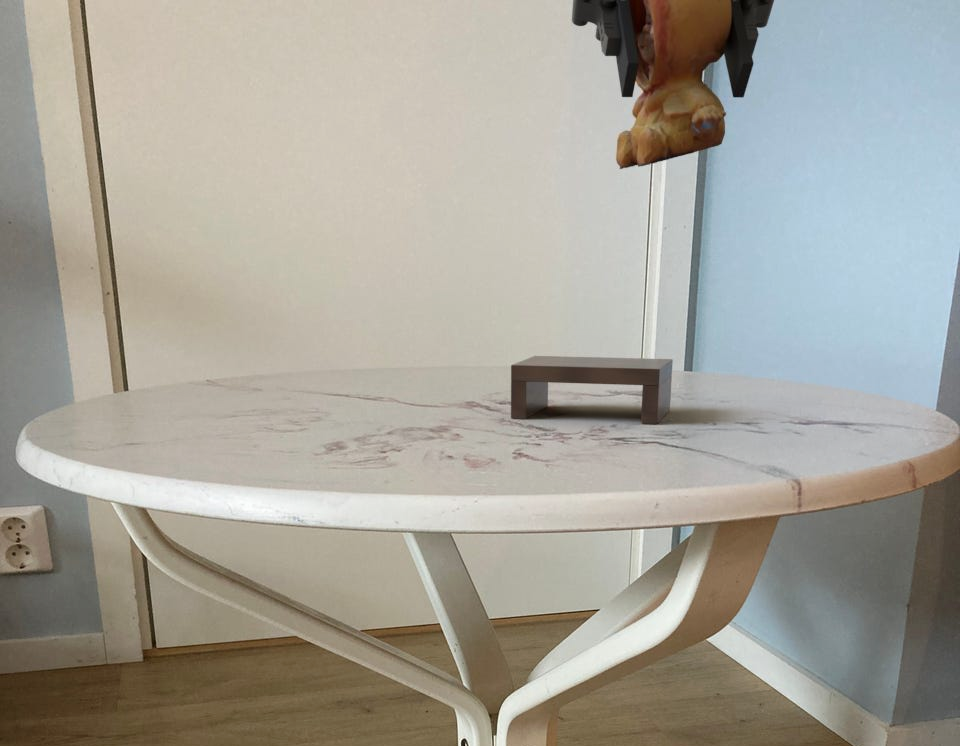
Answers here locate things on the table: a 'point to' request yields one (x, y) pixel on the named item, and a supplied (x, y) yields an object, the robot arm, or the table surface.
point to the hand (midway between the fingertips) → (686, 80)
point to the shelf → (590, 381)
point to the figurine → (675, 79)
